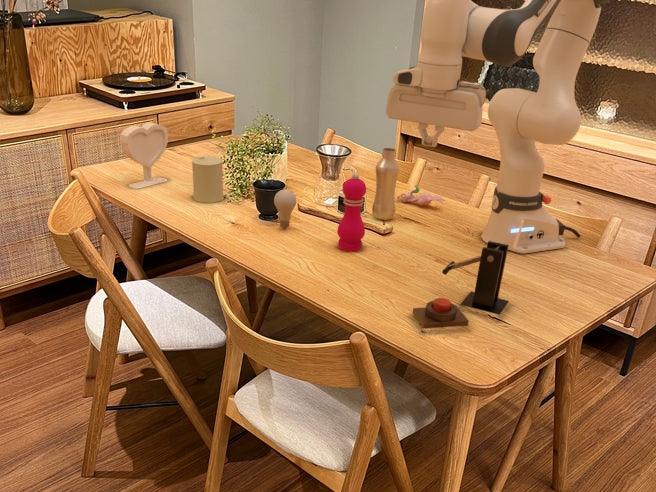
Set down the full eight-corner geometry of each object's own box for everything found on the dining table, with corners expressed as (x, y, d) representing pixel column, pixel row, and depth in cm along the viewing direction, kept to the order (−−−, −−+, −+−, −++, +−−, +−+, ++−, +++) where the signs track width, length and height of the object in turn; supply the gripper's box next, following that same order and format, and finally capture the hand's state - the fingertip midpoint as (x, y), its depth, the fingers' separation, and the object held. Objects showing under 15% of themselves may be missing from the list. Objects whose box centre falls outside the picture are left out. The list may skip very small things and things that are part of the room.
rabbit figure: (394, 206, 218) (439, 209, 210) (394, 187, 215) (439, 190, 207) (403, 201, 223) (448, 204, 214) (403, 182, 220) (448, 184, 212)
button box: (454, 314, 155) (457, 298, 153) (466, 330, 150) (469, 313, 148) (411, 317, 154) (414, 301, 152) (422, 333, 148) (424, 316, 146)
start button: (446, 304, 152) (447, 297, 151) (452, 312, 149) (453, 305, 148) (430, 305, 151) (431, 298, 150) (436, 313, 148) (437, 305, 147)
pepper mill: (361, 254, 182) (368, 178, 172) (334, 250, 183) (339, 175, 173) (365, 243, 188) (371, 170, 178) (338, 240, 189) (343, 167, 179)
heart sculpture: (133, 190, 218) (127, 131, 209) (123, 186, 221) (117, 127, 212) (172, 179, 228) (168, 123, 219) (162, 176, 231) (158, 120, 222)
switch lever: (444, 277, 158) (440, 268, 157) (452, 269, 162) (448, 259, 161) (498, 261, 150) (494, 251, 149) (505, 253, 154) (501, 243, 153)
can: (210, 191, 220) (209, 152, 214) (229, 198, 215) (229, 159, 209) (187, 197, 215) (185, 158, 208) (206, 205, 209) (204, 165, 203)
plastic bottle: (388, 224, 201) (395, 154, 191) (367, 218, 204) (373, 150, 194) (398, 217, 206) (405, 149, 196) (377, 212, 209) (383, 145, 199)
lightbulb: (278, 233, 192) (279, 194, 186) (270, 225, 197) (270, 187, 191) (298, 230, 194) (300, 192, 189) (290, 223, 199) (291, 185, 193)
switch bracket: (459, 309, 158) (469, 248, 150) (470, 295, 164) (480, 236, 156) (498, 319, 154) (511, 257, 147) (508, 305, 160) (521, 245, 153)
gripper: (492, 81, 141) (480, 150, 149) (398, 69, 149) (391, 135, 157) (483, 86, 137) (471, 157, 144) (386, 73, 145) (380, 141, 152)
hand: (429, 145), depth 150 cm, fingers closed
